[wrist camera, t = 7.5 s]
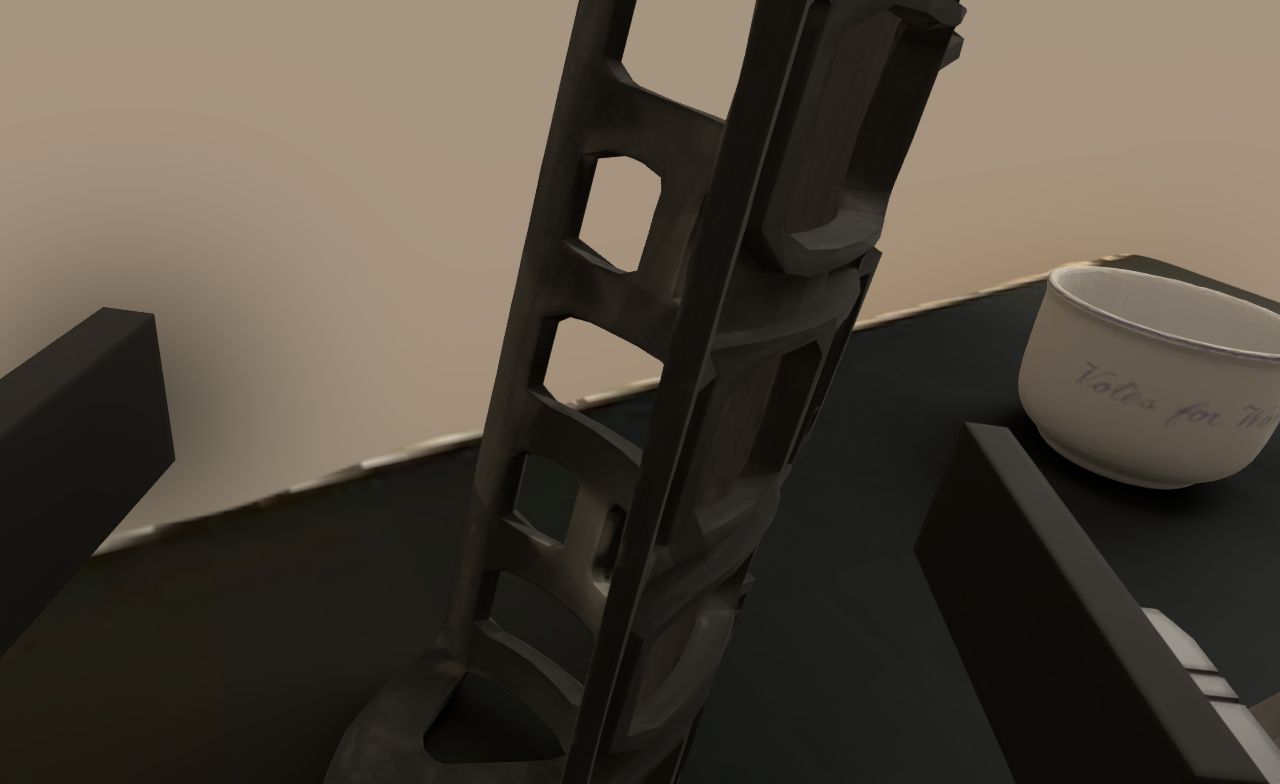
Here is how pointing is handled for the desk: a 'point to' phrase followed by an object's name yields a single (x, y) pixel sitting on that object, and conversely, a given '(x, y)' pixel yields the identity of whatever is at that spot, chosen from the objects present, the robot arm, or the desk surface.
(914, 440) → the desk surface
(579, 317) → the holder
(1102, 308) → the teacup
